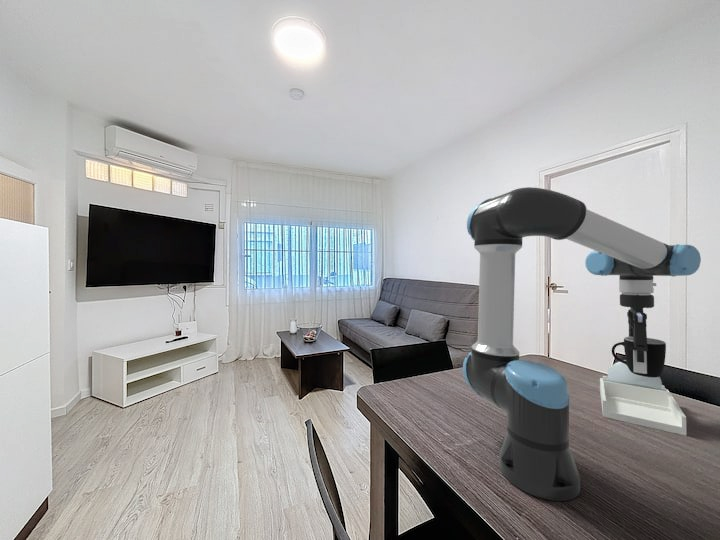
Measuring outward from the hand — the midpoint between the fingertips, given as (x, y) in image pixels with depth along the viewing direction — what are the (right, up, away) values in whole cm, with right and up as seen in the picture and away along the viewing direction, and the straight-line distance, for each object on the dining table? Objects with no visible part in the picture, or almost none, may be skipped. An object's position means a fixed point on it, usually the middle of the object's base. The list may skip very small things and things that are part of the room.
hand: (637, 368), depth 87 cm
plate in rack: (+7, -14, +8) cm, 18 cm away
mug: (0, -2, 0) cm, 2 cm away
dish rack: (+3, -14, +3) cm, 15 cm away
